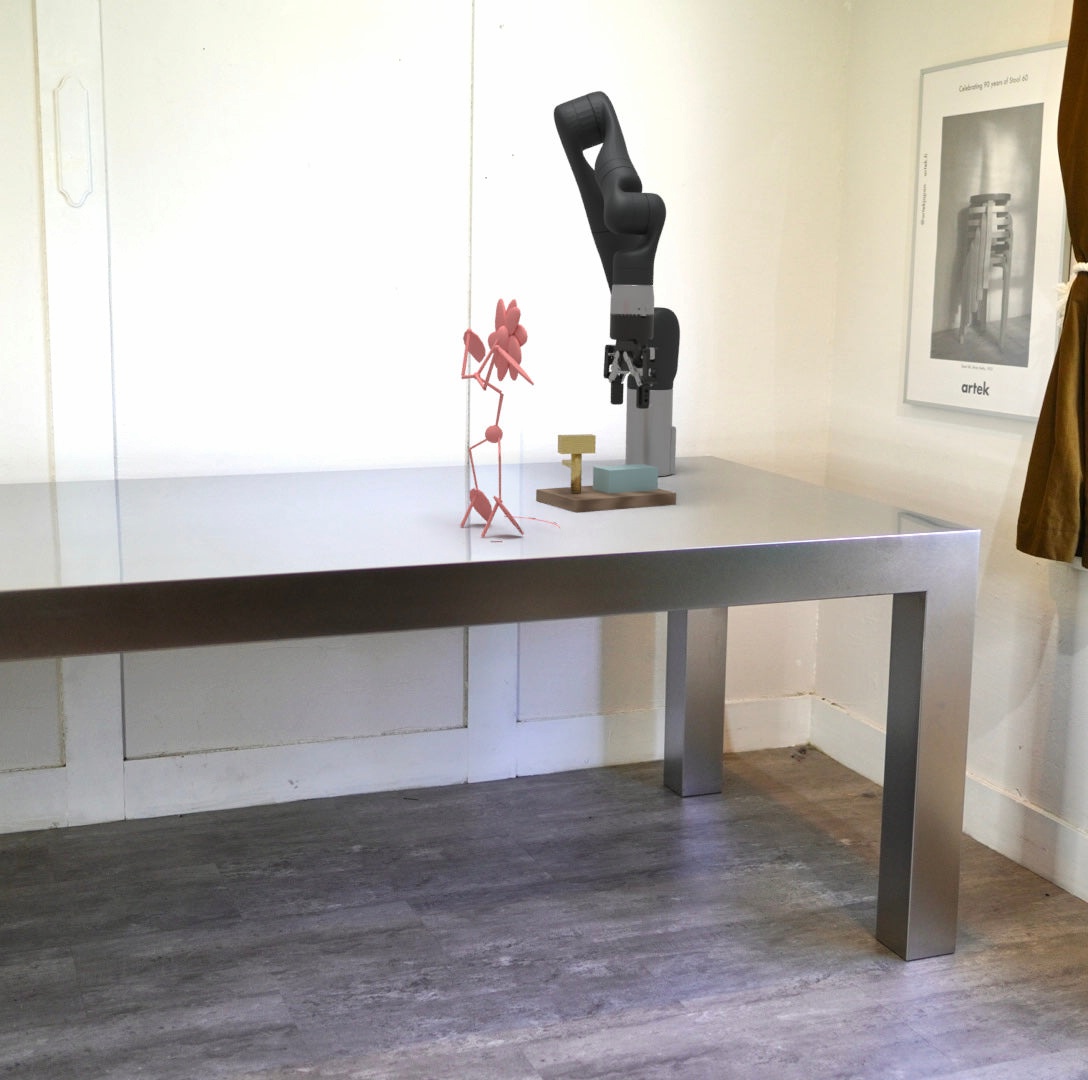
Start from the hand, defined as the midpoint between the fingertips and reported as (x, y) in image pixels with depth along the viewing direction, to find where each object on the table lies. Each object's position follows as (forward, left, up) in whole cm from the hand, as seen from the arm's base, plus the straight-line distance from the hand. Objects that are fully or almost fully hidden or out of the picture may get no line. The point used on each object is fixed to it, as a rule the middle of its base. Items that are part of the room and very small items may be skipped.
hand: (629, 406), depth 232 cm
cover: (+1, 0, -15) cm, 15 cm away
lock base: (+5, 0, -17) cm, 17 cm away
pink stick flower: (+32, +17, -17) cm, 40 cm away
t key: (+10, -2, -14) cm, 18 cm away
